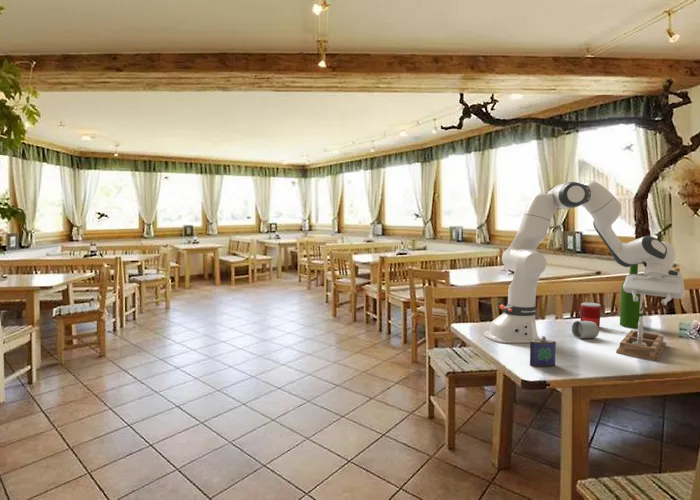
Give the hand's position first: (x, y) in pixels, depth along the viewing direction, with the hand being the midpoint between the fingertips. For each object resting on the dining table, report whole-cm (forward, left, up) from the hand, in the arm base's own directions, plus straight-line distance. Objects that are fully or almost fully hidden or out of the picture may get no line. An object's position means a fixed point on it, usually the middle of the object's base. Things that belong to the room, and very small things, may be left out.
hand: (649, 302), depth 165 cm
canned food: (+1, +31, -18) cm, 36 cm away
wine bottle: (+21, +28, -18) cm, 39 cm away
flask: (-54, -10, -18) cm, 58 cm away
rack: (-4, -2, -18) cm, 19 cm away
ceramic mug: (-15, +17, -19) cm, 29 cm away
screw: (-9, -5, -17) cm, 20 cm away
